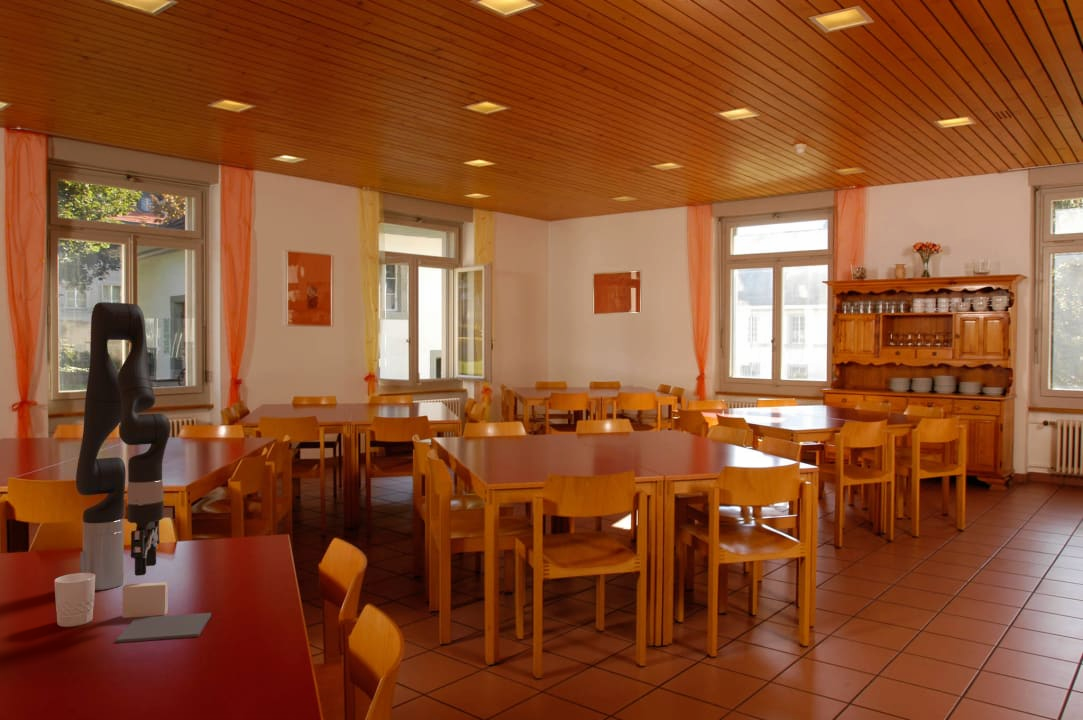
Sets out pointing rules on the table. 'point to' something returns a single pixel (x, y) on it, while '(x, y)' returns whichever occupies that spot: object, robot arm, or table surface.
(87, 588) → the white cup
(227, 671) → the table surface
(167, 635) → the mat
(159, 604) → the beige flat block
